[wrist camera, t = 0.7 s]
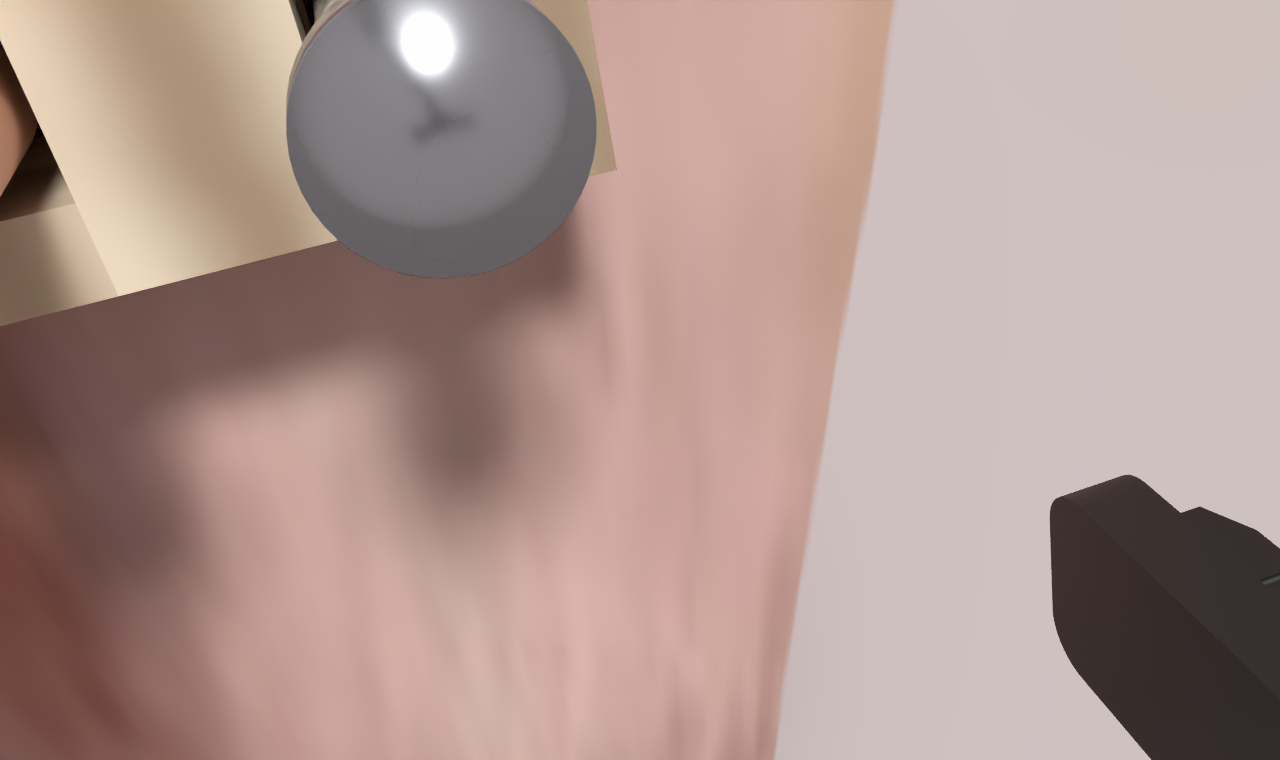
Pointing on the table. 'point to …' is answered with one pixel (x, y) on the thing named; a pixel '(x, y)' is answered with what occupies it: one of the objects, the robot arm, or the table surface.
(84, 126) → the beige rectangular block
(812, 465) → the table surface
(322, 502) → the table surface
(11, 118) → the terracotta plunger
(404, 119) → the steel plunger
